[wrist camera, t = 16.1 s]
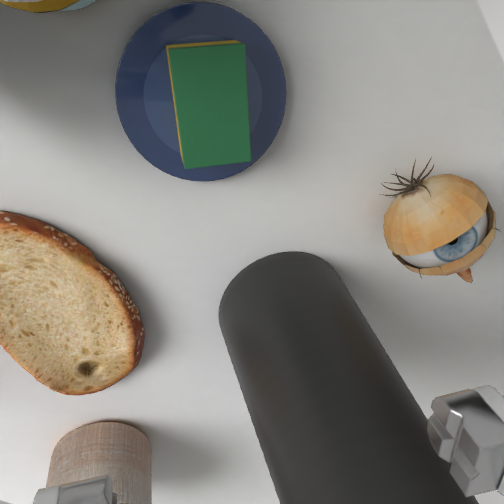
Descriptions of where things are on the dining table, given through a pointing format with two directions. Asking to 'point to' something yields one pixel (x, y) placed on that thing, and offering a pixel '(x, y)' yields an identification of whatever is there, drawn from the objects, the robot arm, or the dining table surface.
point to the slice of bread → (64, 310)
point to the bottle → (47, 5)
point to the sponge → (210, 102)
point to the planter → (105, 459)
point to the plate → (160, 90)
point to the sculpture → (439, 225)
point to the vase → (326, 391)
